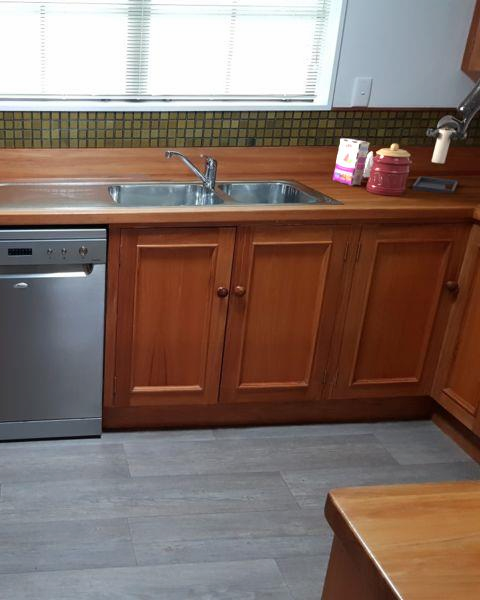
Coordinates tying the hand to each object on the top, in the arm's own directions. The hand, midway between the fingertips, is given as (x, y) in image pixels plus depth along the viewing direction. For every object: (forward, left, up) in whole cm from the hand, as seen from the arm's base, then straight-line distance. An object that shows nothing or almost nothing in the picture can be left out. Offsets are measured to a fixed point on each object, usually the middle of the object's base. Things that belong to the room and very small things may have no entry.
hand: (444, 136), depth 226 cm
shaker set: (+22, -2, -20) cm, 30 cm away
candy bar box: (+28, +12, -20) cm, 37 cm away
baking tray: (-1, -2, -20) cm, 20 cm away
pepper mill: (0, -3, -10) cm, 10 cm away
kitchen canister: (+13, +20, -20) cm, 31 cm away
